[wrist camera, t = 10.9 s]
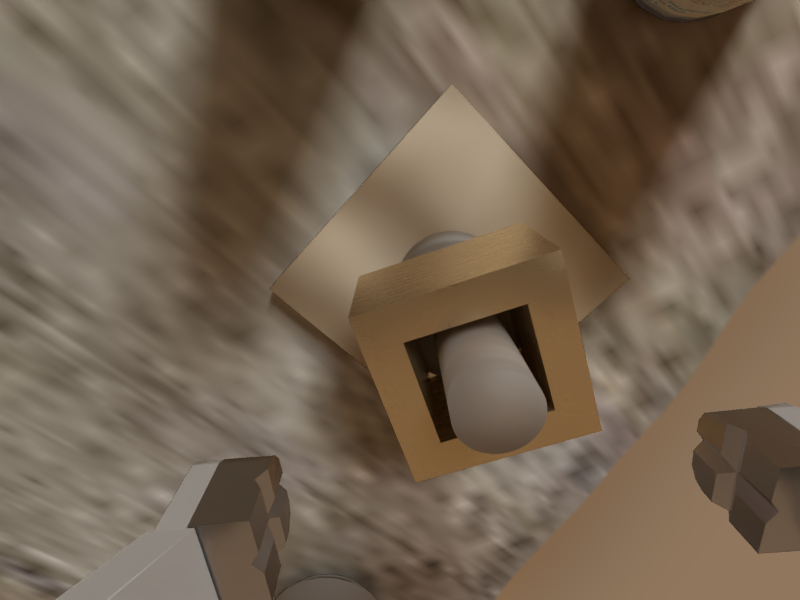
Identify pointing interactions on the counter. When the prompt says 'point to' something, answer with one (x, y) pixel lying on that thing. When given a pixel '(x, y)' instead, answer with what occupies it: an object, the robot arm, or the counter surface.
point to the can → (326, 589)
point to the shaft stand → (438, 228)
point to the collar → (461, 303)
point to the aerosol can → (688, 8)
